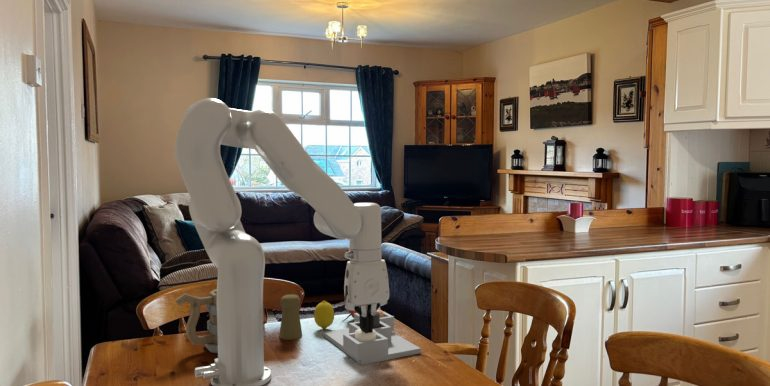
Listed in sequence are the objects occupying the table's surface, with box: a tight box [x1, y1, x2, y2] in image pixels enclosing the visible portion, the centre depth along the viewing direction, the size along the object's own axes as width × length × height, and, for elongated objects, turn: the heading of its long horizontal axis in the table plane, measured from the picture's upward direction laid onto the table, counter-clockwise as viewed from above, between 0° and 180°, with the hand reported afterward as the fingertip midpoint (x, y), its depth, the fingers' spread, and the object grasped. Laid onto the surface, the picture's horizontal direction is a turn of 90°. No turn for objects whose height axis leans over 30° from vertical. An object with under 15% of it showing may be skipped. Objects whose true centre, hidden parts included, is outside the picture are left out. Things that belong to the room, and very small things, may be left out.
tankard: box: [175, 288, 218, 354], centre depth 141 cm, size 20×13×15 cm, turn 122°
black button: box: [373, 311, 380, 329], centre depth 144 cm, size 5×5×4 cm
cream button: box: [355, 329, 376, 342], centre depth 135 cm, size 5×5×4 cm
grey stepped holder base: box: [322, 310, 422, 366], centre depth 144 cm, size 18×23×5 cm
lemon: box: [313, 300, 335, 330], centre depth 156 cm, size 6×6×8 cm
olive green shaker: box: [278, 294, 303, 341], centre depth 150 cm, size 6×6×11 cm
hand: (366, 331), depth 135 cm, fingers closed
